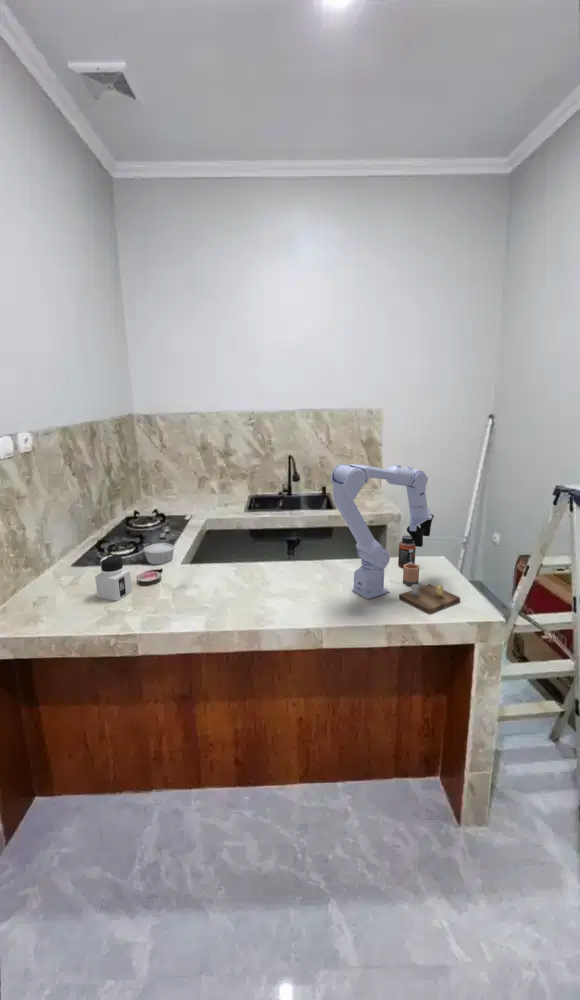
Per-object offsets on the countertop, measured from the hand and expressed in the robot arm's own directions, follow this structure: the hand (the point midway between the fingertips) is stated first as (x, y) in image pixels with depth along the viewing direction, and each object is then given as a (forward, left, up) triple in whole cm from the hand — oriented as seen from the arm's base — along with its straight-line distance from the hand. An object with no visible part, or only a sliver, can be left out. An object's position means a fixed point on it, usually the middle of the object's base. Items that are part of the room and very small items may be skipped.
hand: (422, 540), depth 159 cm
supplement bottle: (+5, +11, -14) cm, 19 cm away
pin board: (-10, -13, -14) cm, 21 cm away
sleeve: (-5, 0, -14) cm, 15 cm away
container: (-91, +47, -14) cm, 104 cm away
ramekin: (-69, +69, -14) cm, 99 cm away
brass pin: (-8, -15, -14) cm, 22 cm away
